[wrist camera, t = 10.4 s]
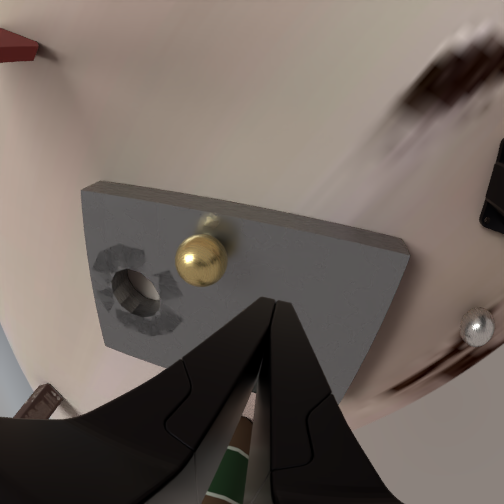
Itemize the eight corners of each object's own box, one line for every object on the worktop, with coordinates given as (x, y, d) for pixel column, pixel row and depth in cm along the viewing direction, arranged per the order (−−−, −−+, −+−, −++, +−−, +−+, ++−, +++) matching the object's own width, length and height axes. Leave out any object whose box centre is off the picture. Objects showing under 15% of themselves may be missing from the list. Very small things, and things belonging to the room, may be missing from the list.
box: (47, 381, 42) (12, 427, 32) (64, 398, 44) (32, 445, 33) (37, 383, 45) (5, 425, 34) (53, 400, 46) (23, 442, 36)
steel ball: (500, 323, 17) (465, 339, 18) (498, 345, 18) (466, 359, 20) (487, 294, 19) (454, 308, 21) (487, 317, 21) (456, 330, 22)
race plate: (401, 238, 20) (410, 255, 18) (337, 387, 27) (336, 407, 25) (100, 180, 22) (80, 190, 20) (117, 330, 30) (105, 345, 28)
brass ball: (236, 231, 19) (221, 255, 16) (231, 275, 21) (216, 303, 18) (187, 221, 20) (165, 242, 17) (186, 264, 21) (166, 289, 18)
